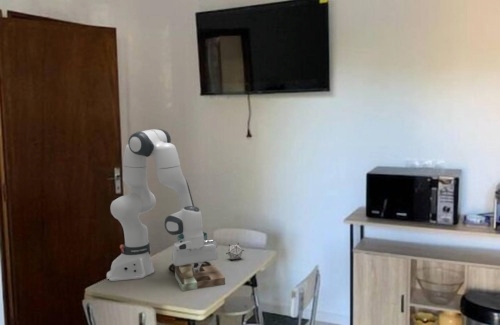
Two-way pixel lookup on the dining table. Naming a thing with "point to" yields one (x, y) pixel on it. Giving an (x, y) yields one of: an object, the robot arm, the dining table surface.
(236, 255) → the game die
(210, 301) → the dining table surface
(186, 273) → the maple block
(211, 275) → the box
